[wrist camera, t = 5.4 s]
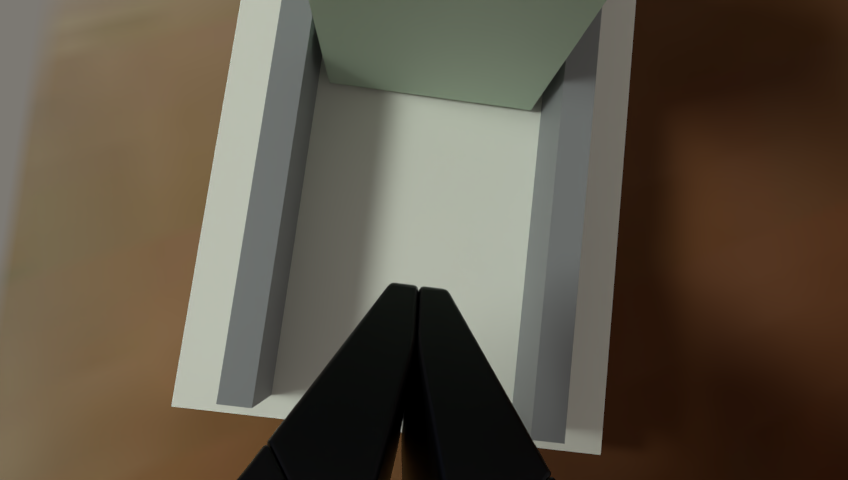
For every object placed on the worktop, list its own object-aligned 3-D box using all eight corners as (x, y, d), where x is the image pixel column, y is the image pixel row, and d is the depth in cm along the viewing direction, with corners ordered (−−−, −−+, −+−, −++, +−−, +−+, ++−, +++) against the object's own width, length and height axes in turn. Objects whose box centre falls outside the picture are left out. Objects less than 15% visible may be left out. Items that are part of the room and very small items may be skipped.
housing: (580, 441, 16) (698, 518, 10) (192, 397, 15) (66, 449, 9) (626, -117, 18) (746, -335, 12) (287, -169, 17) (234, -423, 11)
